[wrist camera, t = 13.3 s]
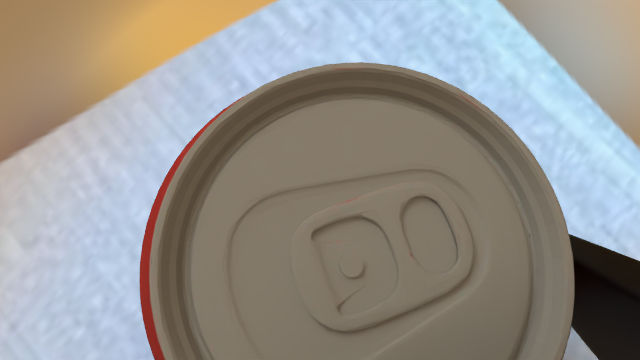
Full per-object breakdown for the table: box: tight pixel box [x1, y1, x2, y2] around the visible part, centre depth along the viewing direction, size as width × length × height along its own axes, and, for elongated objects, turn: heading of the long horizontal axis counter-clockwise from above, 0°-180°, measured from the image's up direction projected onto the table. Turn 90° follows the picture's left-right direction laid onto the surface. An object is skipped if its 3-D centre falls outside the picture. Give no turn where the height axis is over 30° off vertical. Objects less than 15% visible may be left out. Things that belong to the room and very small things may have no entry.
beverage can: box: [140, 63, 575, 360], centre depth 11 cm, size 7×7×12 cm
